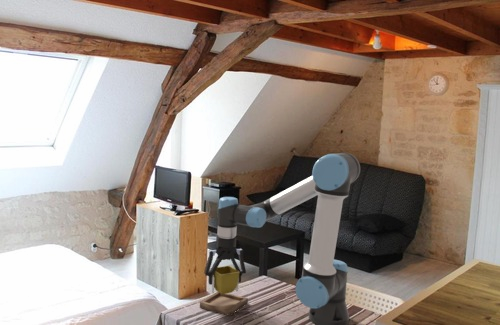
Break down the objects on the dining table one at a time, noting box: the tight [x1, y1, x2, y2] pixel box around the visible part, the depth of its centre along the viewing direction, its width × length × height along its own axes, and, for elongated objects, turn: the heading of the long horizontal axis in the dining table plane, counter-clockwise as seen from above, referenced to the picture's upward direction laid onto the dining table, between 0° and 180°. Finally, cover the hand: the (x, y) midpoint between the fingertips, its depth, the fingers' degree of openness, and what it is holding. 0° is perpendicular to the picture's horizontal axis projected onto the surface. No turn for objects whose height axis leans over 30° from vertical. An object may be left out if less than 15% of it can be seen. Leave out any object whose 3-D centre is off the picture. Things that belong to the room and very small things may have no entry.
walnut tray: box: [199, 291, 249, 316], centre depth 187 cm, size 14×14×2 cm
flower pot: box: [213, 265, 240, 294], centre depth 186 cm, size 9×9×9 cm
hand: (224, 291), depth 187 cm, fingers closed on flower pot, 9 cm apart
